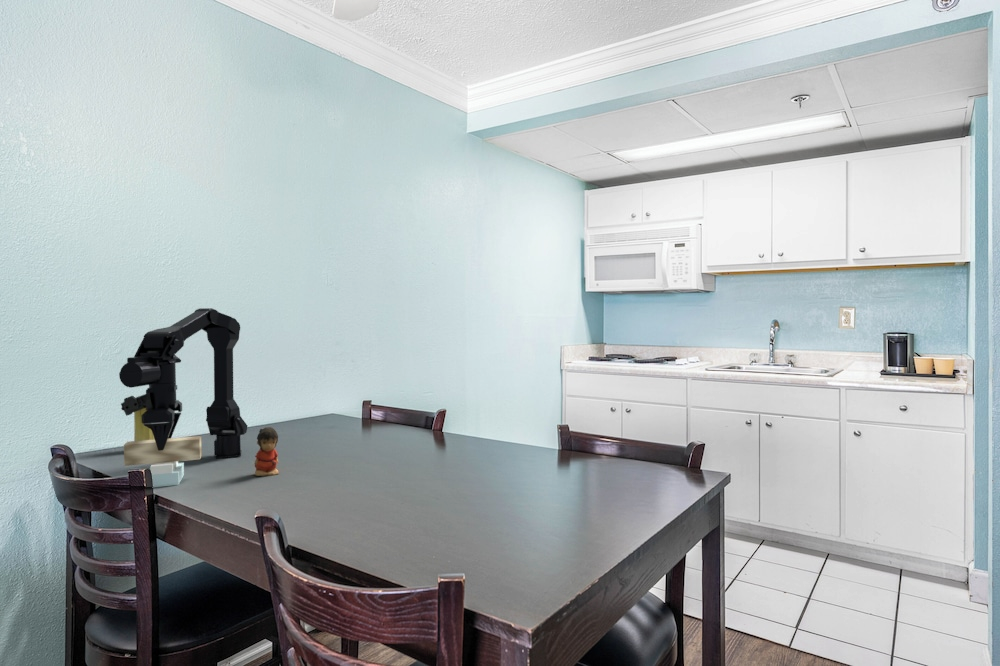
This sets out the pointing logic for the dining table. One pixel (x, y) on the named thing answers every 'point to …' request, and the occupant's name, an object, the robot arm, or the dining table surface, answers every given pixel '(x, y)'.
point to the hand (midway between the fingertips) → (164, 446)
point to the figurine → (266, 452)
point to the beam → (162, 451)
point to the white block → (167, 473)
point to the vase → (141, 427)
